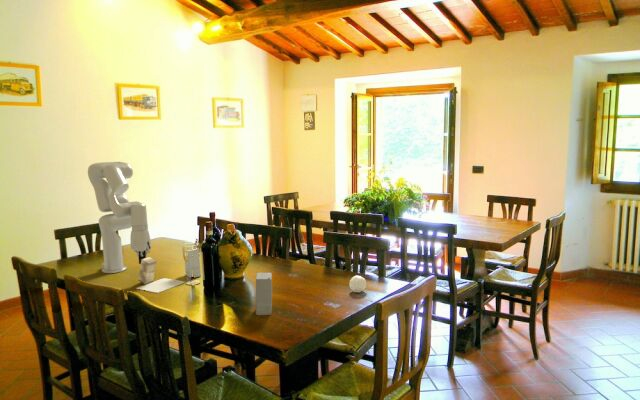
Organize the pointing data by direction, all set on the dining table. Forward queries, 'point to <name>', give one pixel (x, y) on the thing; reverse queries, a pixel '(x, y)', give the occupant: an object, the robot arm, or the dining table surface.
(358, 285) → the geometric ball
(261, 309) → the skincare box
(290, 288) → the dining table surface
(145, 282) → the birch block
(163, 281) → the mat
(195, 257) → the skincare box
